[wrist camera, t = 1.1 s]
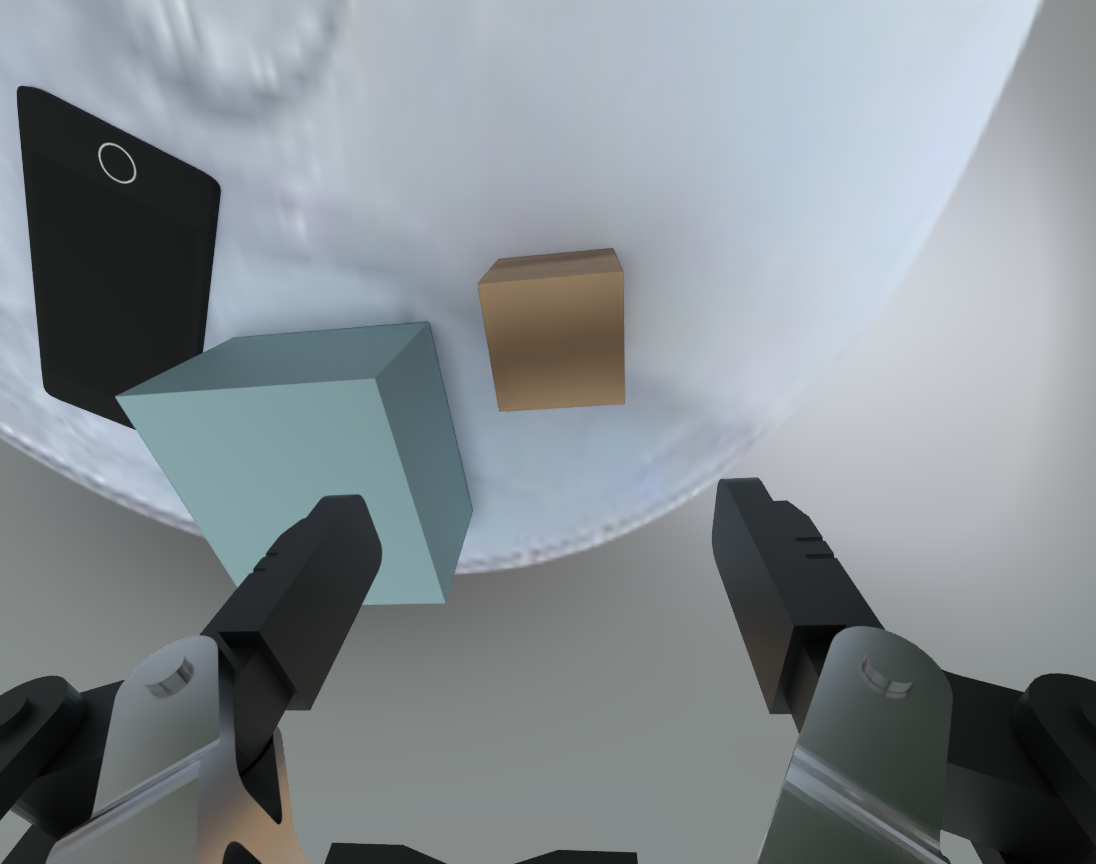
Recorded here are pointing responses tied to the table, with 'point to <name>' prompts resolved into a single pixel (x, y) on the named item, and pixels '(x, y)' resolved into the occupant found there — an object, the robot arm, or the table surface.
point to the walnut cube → (555, 330)
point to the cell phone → (112, 253)
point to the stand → (315, 446)
